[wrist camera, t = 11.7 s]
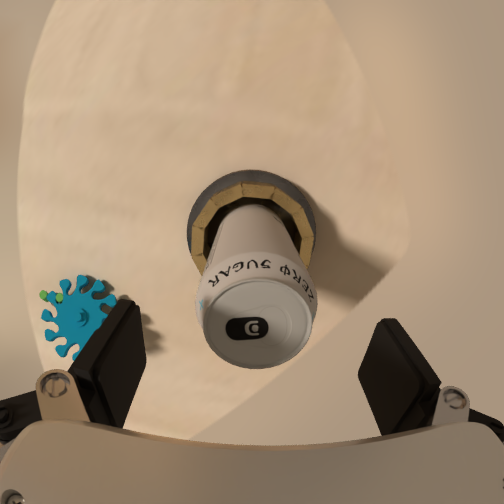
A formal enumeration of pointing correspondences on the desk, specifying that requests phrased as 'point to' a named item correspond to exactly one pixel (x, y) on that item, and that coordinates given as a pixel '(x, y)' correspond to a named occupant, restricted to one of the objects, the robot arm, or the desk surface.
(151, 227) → the desk surface
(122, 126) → the desk surface
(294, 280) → the energy drink can
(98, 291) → the gear
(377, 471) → the robot arm
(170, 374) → the desk surface
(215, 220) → the carrier
